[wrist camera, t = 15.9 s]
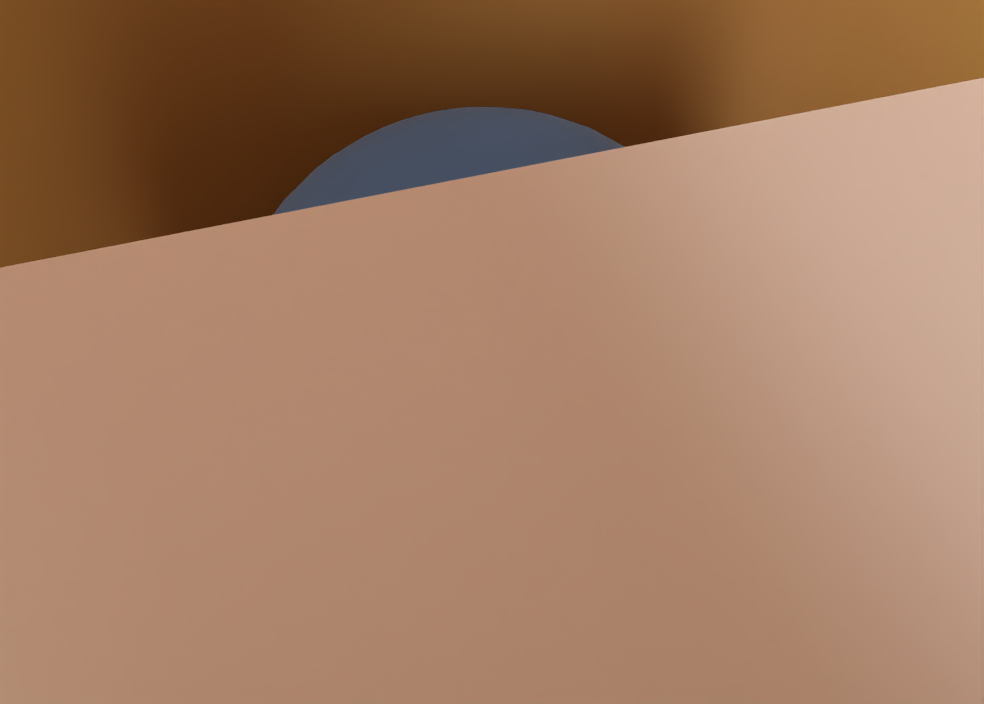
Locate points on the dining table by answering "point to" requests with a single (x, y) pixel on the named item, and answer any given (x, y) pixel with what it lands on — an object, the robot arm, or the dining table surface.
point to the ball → (443, 152)
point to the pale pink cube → (521, 435)
